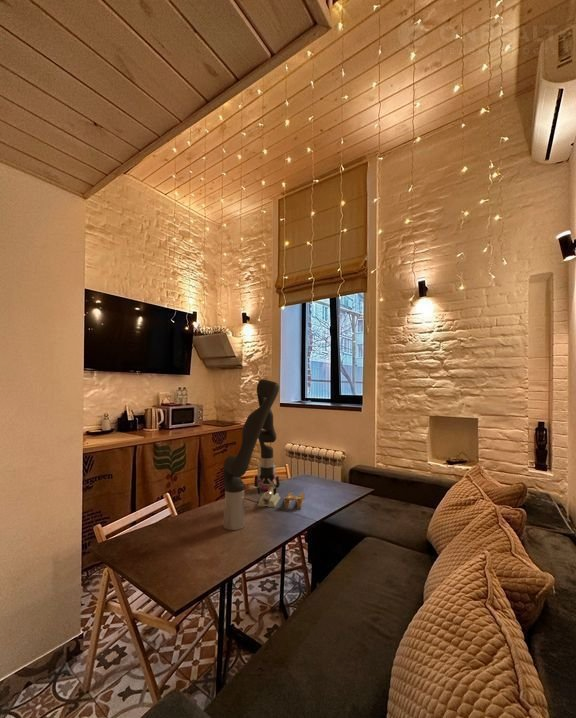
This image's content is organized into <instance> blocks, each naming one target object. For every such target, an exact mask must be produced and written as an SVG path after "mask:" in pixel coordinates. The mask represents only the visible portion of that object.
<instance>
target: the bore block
mask: <svg viewBox="0 0 576 718" xmlns="http://www.w3.org/2000/svg"><path fill="white" fill-rule="evenodd" d="M292 501H295V502H296V510H302V508H301V507H303V505H304V502H305V492H300V495H298V496H297V495H293V492H288V494H287V495H284V498H283V503H284V504H283V509H286V508H287V509H289V507H290V505H291V503H292Z"/></svg>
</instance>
